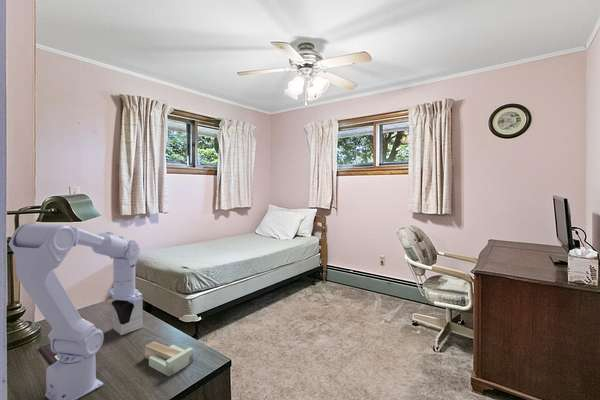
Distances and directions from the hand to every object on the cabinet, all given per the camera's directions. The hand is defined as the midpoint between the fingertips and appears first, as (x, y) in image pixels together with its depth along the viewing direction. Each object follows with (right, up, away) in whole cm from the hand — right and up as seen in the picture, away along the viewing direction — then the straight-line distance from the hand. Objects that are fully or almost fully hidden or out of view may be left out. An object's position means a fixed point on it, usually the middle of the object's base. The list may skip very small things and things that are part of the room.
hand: (124, 322), depth 90 cm
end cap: (+16, -10, -4) cm, 19 cm away
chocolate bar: (-17, -10, 0) cm, 20 cm away
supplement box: (-8, -9, +15) cm, 19 cm away
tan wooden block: (+13, -10, -3) cm, 17 cm away
